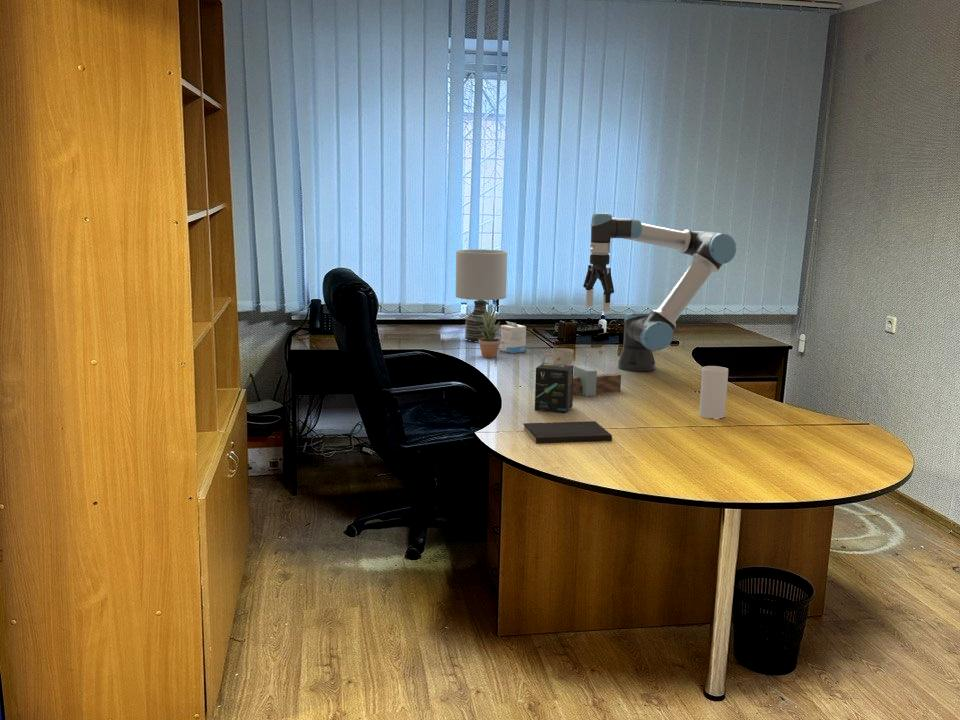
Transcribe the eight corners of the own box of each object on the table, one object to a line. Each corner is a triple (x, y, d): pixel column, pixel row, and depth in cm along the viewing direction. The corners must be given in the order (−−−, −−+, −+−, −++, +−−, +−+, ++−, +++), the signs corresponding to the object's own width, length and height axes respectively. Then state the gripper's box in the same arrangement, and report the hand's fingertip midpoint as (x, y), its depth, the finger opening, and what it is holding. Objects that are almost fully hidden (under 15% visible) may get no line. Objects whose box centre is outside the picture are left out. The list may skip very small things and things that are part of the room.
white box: (526, 352, 396) (527, 322, 394) (511, 353, 392) (512, 323, 389) (514, 348, 403) (515, 319, 401) (499, 350, 399) (500, 321, 396)
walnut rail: (616, 389, 326) (617, 373, 325) (620, 391, 324) (621, 375, 323) (547, 394, 316) (548, 377, 315) (551, 396, 314) (551, 379, 313)
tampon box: (572, 407, 299) (574, 364, 296) (566, 413, 290) (568, 370, 287) (541, 404, 302) (542, 362, 299) (534, 410, 294) (535, 367, 291)
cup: (710, 420, 285) (714, 371, 282) (693, 414, 292) (697, 367, 289) (730, 417, 289) (733, 369, 286) (712, 411, 296) (716, 365, 293)
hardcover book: (523, 430, 271) (523, 423, 271) (595, 428, 275) (595, 421, 275) (535, 445, 256) (536, 437, 255) (611, 442, 260) (612, 435, 260)
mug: (571, 377, 345) (572, 352, 343) (539, 375, 347) (540, 350, 345) (573, 373, 353) (574, 348, 351) (542, 371, 355) (543, 347, 353)
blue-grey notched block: (582, 389, 325) (583, 365, 324) (595, 395, 316) (596, 370, 314) (573, 389, 324) (574, 365, 322) (585, 396, 315) (586, 371, 313)
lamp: (505, 345, 413) (507, 253, 404) (453, 343, 413) (455, 252, 405) (504, 336, 436) (506, 249, 428) (455, 335, 436) (457, 248, 428)
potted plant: (495, 353, 391) (497, 298, 386) (503, 357, 382) (504, 300, 377) (474, 354, 388) (475, 298, 383) (481, 358, 379) (482, 301, 374)
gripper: (576, 251, 349) (574, 304, 353) (607, 256, 326) (604, 313, 330) (593, 251, 351) (590, 304, 356) (625, 256, 329) (622, 313, 333)
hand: (597, 308), depth 343 cm, fingers open, 13 cm apart
